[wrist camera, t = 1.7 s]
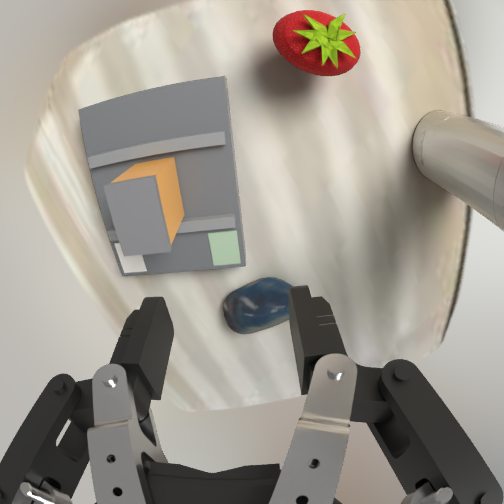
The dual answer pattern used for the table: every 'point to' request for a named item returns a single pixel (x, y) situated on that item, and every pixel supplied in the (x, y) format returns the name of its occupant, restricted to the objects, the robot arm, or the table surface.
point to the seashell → (257, 306)
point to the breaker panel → (187, 165)
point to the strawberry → (317, 42)
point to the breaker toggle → (146, 207)
